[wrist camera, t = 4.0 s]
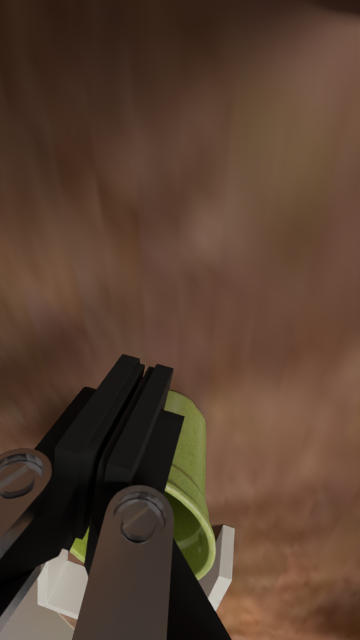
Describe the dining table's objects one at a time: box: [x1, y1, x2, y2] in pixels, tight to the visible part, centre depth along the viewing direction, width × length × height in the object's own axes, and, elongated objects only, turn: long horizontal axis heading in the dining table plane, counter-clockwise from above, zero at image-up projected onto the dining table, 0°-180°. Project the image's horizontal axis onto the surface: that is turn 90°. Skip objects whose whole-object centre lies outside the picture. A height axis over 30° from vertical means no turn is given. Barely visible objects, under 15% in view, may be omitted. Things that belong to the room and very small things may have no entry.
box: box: [38, 525, 235, 619], centre depth 31 cm, size 16×16×4 cm
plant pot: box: [70, 390, 216, 580], centre depth 21 cm, size 9×9×9 cm
